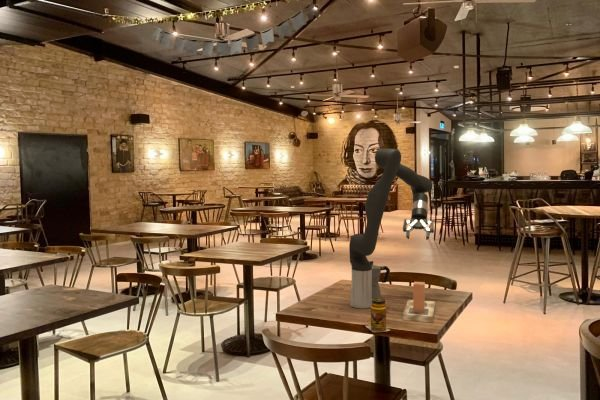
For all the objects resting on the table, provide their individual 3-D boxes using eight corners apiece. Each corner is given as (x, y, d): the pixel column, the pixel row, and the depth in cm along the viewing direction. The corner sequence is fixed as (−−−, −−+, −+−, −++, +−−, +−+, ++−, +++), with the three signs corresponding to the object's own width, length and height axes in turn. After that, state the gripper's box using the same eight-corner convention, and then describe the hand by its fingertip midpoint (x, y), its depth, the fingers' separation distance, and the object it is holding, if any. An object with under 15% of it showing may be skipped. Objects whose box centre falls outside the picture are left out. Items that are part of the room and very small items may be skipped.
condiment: (374, 333, 200) (374, 302, 199) (364, 326, 208) (365, 297, 207) (390, 331, 202) (391, 301, 202) (381, 324, 210) (381, 295, 210)
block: (413, 311, 218) (413, 283, 218) (413, 308, 223) (414, 281, 222) (423, 312, 217) (424, 284, 216) (424, 309, 222) (424, 282, 221)
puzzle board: (402, 320, 216) (403, 313, 216) (408, 304, 239) (408, 298, 239) (432, 322, 213) (432, 315, 213) (434, 306, 236) (434, 300, 235)
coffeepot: (357, 299, 249) (357, 262, 248) (358, 294, 259) (358, 258, 257) (389, 300, 247) (390, 263, 246) (389, 295, 256) (389, 259, 255)
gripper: (404, 206, 250) (401, 233, 240) (434, 207, 246) (433, 234, 235) (405, 216, 255) (402, 242, 245) (434, 217, 251) (433, 243, 241)
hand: (417, 238), depth 240 cm, fingers open, 8 cm apart
